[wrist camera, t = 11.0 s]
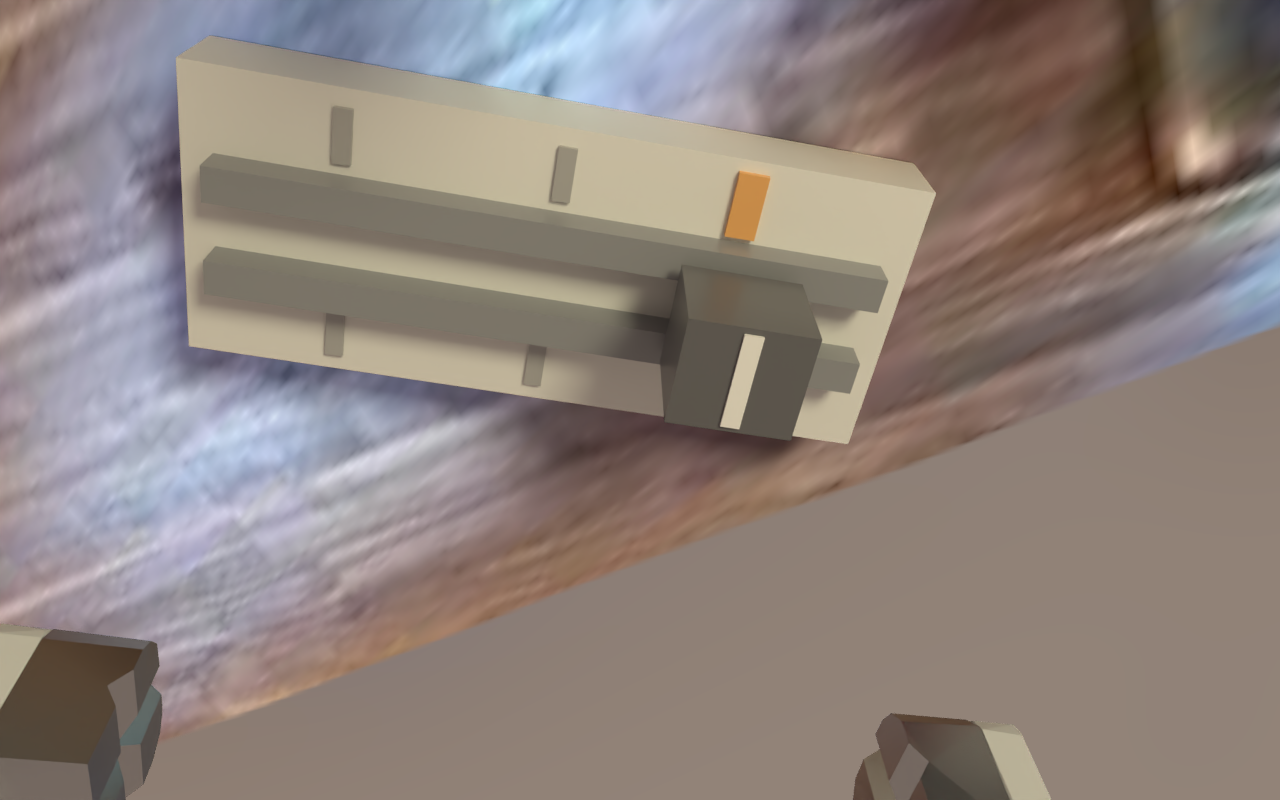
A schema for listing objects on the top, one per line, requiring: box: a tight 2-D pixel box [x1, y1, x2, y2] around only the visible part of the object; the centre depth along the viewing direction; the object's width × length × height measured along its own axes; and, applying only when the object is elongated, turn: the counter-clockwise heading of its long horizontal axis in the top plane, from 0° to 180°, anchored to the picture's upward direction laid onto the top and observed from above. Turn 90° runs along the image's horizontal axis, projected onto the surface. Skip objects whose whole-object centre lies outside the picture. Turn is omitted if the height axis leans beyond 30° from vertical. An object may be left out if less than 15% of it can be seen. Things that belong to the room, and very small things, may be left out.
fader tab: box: [660, 265, 822, 441], centre depth 33 cm, size 4×4×6 cm
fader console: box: [176, 35, 936, 444], centre depth 36 cm, size 24×10×4 cm, turn 79°
